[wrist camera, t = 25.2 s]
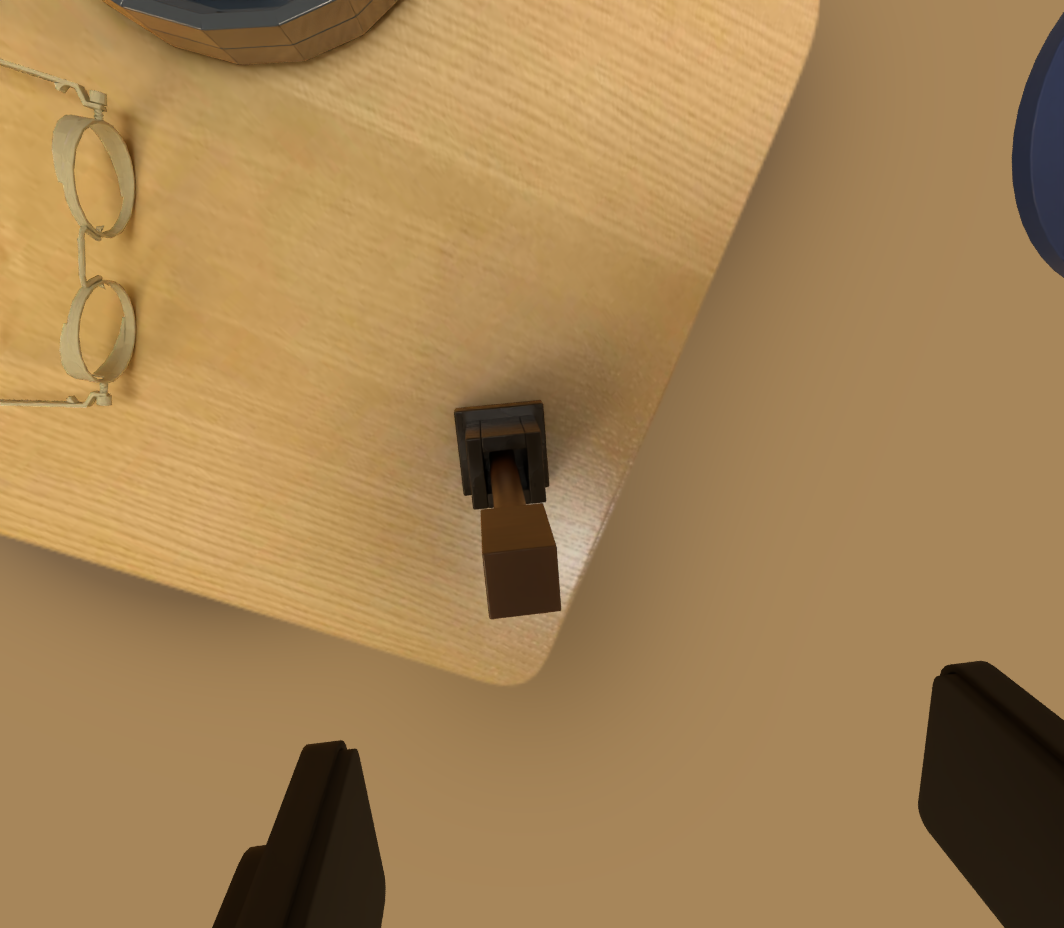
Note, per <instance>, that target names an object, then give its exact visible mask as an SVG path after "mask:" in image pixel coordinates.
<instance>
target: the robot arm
mask: <svg viewBox="0 0 1064 928" xmlns="http://www.w3.org/2000/svg"><path fill="white" fill-rule="evenodd" d="M918 809H919V813H920V817H921V819H922V821H923V823H924V826H925V827H926V829H927V830H928V832H929V833H930V834H931V835H932V837H933V838H934V839H935V840H936V841H937V843H938V844H939V845H940V847H941V848H942V849H943V851H944V852H945V853H946V854H947V856H948V857H949V858H950V859H951V861H952V862H953V863H954V864H955V866H956V867H957V868H958V870H959V871H960V872H961V873H962V874H963V876H964V877H965V878H966V879H967V881H968V882H969V883H970V885H971V886H972V887H973V888H974V890H975V891H976V892H977V893H978V895H979V896H980V897H981V898H982V900H983V901H984V902H985V904H986V905H987V906H988V907H989V909H990V910H991V911H992V912H993V914H994V915H995V916H996V917H997V919H998V920H999V921H1000V922H1001V924H1002V925H1003V926H1004V928H1064V720H1063V719H1061V718H1060V717H1059V716H1057V715H1056V714H1055V713H1054V712H1052V711H1051V710H1050V709H1048V708H1047V707H1046V706H1045V705H1043V704H1042V703H1041V702H1039V701H1038V700H1037V699H1035V698H1034V697H1033V696H1032V695H1030V694H1029V693H1028V692H1027V691H1025V690H1024V689H1023V688H1021V687H1020V686H1019V685H1018V684H1016V683H1015V682H1014V681H1012V680H1011V679H1010V678H1009V677H1007V676H1006V675H1005V674H1003V673H1002V672H1001V671H999V670H998V669H997V668H996V667H994V666H993V665H991V664H989V663H988V662H984V661H975V662H967V663H959V664H951V665H947V666H945V667H944V668H943V669H942V670H941V674H940V676H937V677H936V678H935V679H934V682H933V687H932V696H931V704H930V712H929V720H928V727H927V736H926V744H925V753H924V760H923V768H922V777H921V784H920V792H919V800H918ZM384 904H385V876H384V871H383V866H382V861H381V857H380V852H379V847H378V842H377V838H376V833H375V828H374V823H373V819H372V814H371V809H370V804H369V800H368V795H367V790H366V785H365V781H364V776H363V771H362V766H361V762H360V757H359V753H358V751H357V749H348V750H347V748H346V744H345V743H344V741H341V740H340V741H332V742H324V743H316V744H308V745H306V746H305V747H304V748H303V750H302V752H301V754H300V757H299V760H298V762H297V765H296V768H295V770H294V773H293V775H292V778H291V781H290V784H289V786H288V789H287V791H286V794H285V797H284V799H283V802H282V804H281V807H280V810H279V812H278V815H277V818H276V820H275V823H274V826H273V828H272V831H271V834H270V836H269V839H268V841H267V844H266V845H262V846H255V847H250V848H249V849H248V850H247V851H246V852H245V853H244V855H243V856H242V858H241V860H240V862H239V864H238V866H237V869H236V871H235V874H234V876H233V878H232V881H231V883H230V886H229V888H228V891H227V893H226V896H225V898H224V900H223V903H222V905H221V908H220V910H219V912H218V915H217V917H216V920H215V922H214V925H213V927H212V928H381V923H382V918H383V910H384Z"/></svg>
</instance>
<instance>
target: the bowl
mask: <svg viewBox="0 0 1064 928" xmlns="http://www.w3.org/2000/svg"><path fill="white" fill-rule="evenodd" d="M102 1H103V2H105V3H106V4H107V5H109V6H110V7H112V8H113V9H115V10H117V11H118V12H120V13H121V14H123V15H124V16H126V17H128V18H129V19H131V20H132V21H134V22H135V23H137V24H138V25H140V26H142V27H143V28H145V29H146V30H148V31H149V32H151V33H153V34H154V35H156V36H157V37H159V38H160V39H162V40H163V41H165V42H167V43H168V44H171V45H172V46H174V47H178V48H182V49H185V50H189V51H192V52H196V53H199V54H203V55H206V56H210V57H213V58H217V59H221V60H224V61H228V62H231V63H235V64H238V65H239V64H240V65H247V64H264V63H280V62H297V61H305V60H309V59H311V58H313V57H315V56H318V55H320V54H322V53H324V52H327V51H329V50H331V49H333V48H335V47H338V46H340V45H342V44H344V43H346V42H349V41H351V40H353V39H355V38H357V37H360V36H362V35H363V34H364V33H366V32H367V31H368V30H369V29H370V28H371V27H372V26H373V25H374V24H375V23H376V22H377V21H378V20H379V19H380V18H381V17H382V16H383V15H384V14H385V13H386V12H387V11H388V10H389V9H390V8H391V7H392V6H393V5H394V4H395V3H396V2H397V1H398V0H102Z"/></svg>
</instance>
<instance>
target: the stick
mask: <svg viewBox="0 0 1064 928" xmlns="http://www.w3.org/2000/svg"><path fill="white" fill-rule="evenodd" d="M489 463H490V473H491V484H492V494H493V505H494V508H493V509H484V510H481V536H482V557H483V566H484V575H485V584H486V593H487V602H488V611H489V618H490V619H498V618H506V617H514V616H523V615H531V614H540V613H548V612H556V611H561V599H560V586H559V572H558V559H557V546H556V543H555V540H554V537H553V533H552V530H551V527H550V524H549V521H548V518H547V514H546V511H545V508H544V505H543V503H540V504H530V505H526V502H525V498H524V494H523V489H522V485H521V481H520V477H519V473H518V468H517V464H516V460H515V456H514V452H513V450H503V451H494V452H489Z"/></svg>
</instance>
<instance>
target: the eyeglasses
mask: <svg viewBox="0 0 1064 928" xmlns="http://www.w3.org/2000/svg"><path fill="white" fill-rule="evenodd" d="M0 65H3V66H5V67H9V68H11V69H14V70H17V71H18V72H19V71H21V72H22V73H27V74H29V75H33V76H36V77H39V78H42V79H45V80H48V81H51V82H55V88H56V89H57V90H59V91H61V92H63V93H66V91H67V90H68V89H69V88H70V87H72V88H75V90H76V92H77V94H78V96H79V98H80V100H81V102H82V104H83V105H84V106H86V107H89V108H91V109H94V113H95V115H94V118H95V119H91V118H86V117H80V116H75V115H65V116H63V117H62V118H61V119H59V120H58V121H57V124H56V126H55V128H54V131H53V140H52V153H53V160H54V167H55V172H56V175H57V178H58V182H60V183H62V184H63V188H64V193H65V198H66V201H67V203H68V206H69V208H70V211H71V213H72V215H73V216H74V218H75V219H76V221H77V222H78V224H79V225H80V229H79V237H78V238H77V240H78V263H79V277H80V281H81V285H82V287H81V288H80V289H79V291H78V292H77V294H76V296H75V298H74V300H73V301H72V305H71V308H70V312H69V315H68V322H67V324H66V323H64V324H63V328H62V332H61V338H60V356H61V362H62V365H63V367H64V369H65V371H66V373H67V374H68V375H70V376H72V377H74V378H75V379H82V380H88V381H90V382H97V383H100V391H94V392H91V393H90V394H89V396H88V398H87V399H86V401H85V402H79V401H78V399H77V398H76V397H75V396H69V397H68V398H66V399H67V401H55V400H54V401H41V400H38V401H37V400H36V401H34V400H33V401H32V400H4V399H0V405H3V406H40V407H80V408H86V407H89V406H92V405H93V404H94V402H95V400H96V399H97V405H101V406H109V405H112V396H111V395H110V394H108V383H110V382H114V381H115V380H116V379H117V378H118V377H119V376H121V375H122V374H123V373H124V371H125V370H126V369H127V367H128V365H129V362H130V360H131V357H132V353H133V349H134V345H135V336H136V321H135V315H134V309H133V306H132V303H131V300H130V298H129V295H128V294H127V293H126V291H125V290H124V288H123V287H122V286H121V285H119V284H118V283H117V282H115V281H109V280H102V276H99V275H97V276H95V277H93V278H91V279H89V280H88V281H86V277H85V239H84V236H85V232H86V233H87V234H88V235H90V236H91V237H92V238H93V239H95V240H97V241H101V237H106V238H113V237H114V236H116V235H118V234H120V233H122V232H123V230H124V229H125V227H126V225H127V223H128V222H129V220H130V218H131V215H132V210H133V205H134V200H135V178H134V172H133V166H132V160H131V157H130V154H129V152H128V149H127V145H126V143H125V141H124V140H123V138H122V137H121V135H120V134H119V133H118V131H117V130H116V129H115V128H114V127H113V126H112V125H110V124H109V123H107V122H105V121H104V120H102V119H103V116H104V115H103V113H102V112H103V111H106V112H107V110H106V107H104V106H107V94H105V93H102V92H99V91H95V90H89V93H90V98H89V96H88V94H87V92H86V90H85V88H84V87H83V86H81V85H79V84H76V83H73V82H70V81H67V80H66V79H61V78H59V77H55V76H52V75H50V74H47V73H43V72H39V71H37V70H34V69H30V68H28V67H24V66H21V65H19V64H15V63H11V62H9V61H5V60H3V59H0ZM89 127H90V128H91V129H92V130H93V131H94V132H95V133H96V134H97V135H98V137H99V138H100V140H101V142H102V143H103V145H104V147H105V148H106V150H107V152H108V153H109V155H110V158H111V161H112V164H113V166H114V169H115V172H116V174H117V177H118V182H119V187H120V193H121V196H122V197H123V204H122V209H121V212H120V215H119V218H118V219H117V221H116V223H115V224H114V226H113V227H112V228H111V229H110V230H109V231H105V232H102V230H103V228H104V226H97V227H96V229H95V228H94V227H93V226H92V225H91V224H90V223H89V222H88V221H87V219H86V216H85V214H84V212H83V210H82V208H81V205H80V203H79V200H78V196H77V192H76V186H75V176H74V166H75V156H76V148H77V146H78V144H79V141H80V139H81V137H82V134H83V132H84V130H86V129H87V128H89ZM98 231H99V232H98ZM104 283H105V284H107V285H110V286H111V287H112V288H113V290H114V291H115V292H116V293H117V295H118V297H119V299H120V301H121V303H122V307H123V311H124V315H125V317H122V322H121V328H120V333H119V335H118V338H117V340H116V343H115V345H114V347H113V350H112V352H111V353H110V355H109V356H108V358H107V359H106V361H105V362H104V363H103V364H102V365H101V366H100V367H99V369H98V370H97V371H95V372H94V373H93V374H91V373H90V372H89V371H88V369H87V367H86V365H85V363H84V361H83V358H82V354H81V347H80V340H79V329H80V319H81V315H82V312H83V308H84V305H85V302H86V300H87V299H88V297H89V296H90V294H91V293H92V291H93V290H94V289H95V288H97V287H98V286H99V287H101V288H104V289H105V287H104V285H103V284H104ZM93 376H95V377H101V378H103V379H97V378H95V377H93Z"/></svg>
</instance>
